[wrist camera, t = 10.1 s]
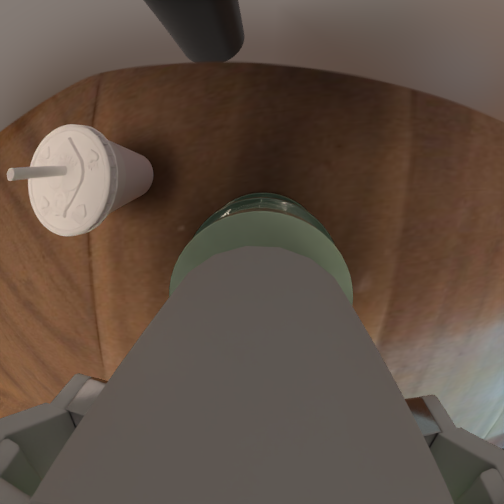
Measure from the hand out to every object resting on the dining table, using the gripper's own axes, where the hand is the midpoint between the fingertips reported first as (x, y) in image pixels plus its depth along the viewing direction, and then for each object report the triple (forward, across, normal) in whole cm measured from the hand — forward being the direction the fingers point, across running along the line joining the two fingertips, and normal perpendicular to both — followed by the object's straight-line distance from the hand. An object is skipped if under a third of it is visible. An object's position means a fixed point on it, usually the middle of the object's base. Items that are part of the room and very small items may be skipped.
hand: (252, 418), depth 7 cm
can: (+5, 0, 0) cm, 5 cm away
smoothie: (+18, +11, -6) cm, 22 cm away
